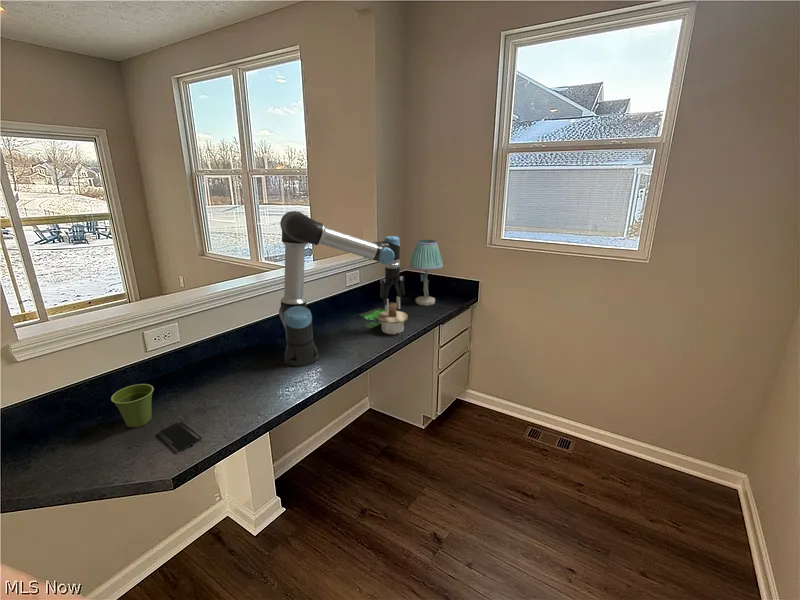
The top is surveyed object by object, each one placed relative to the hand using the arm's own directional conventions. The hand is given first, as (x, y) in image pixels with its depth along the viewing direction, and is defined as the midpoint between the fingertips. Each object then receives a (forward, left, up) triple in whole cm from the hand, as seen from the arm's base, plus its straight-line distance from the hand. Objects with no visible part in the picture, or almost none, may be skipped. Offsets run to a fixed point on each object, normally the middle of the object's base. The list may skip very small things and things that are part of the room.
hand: (392, 309), depth 204 cm
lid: (0, 0, -5) cm, 5 cm away
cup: (0, 0, -12) cm, 12 cm away
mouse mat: (-1, +21, -13) cm, 24 cm away
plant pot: (-113, -30, -12) cm, 118 cm away
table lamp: (+40, +31, -12) cm, 52 cm away
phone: (-101, -46, -13) cm, 112 cm away
